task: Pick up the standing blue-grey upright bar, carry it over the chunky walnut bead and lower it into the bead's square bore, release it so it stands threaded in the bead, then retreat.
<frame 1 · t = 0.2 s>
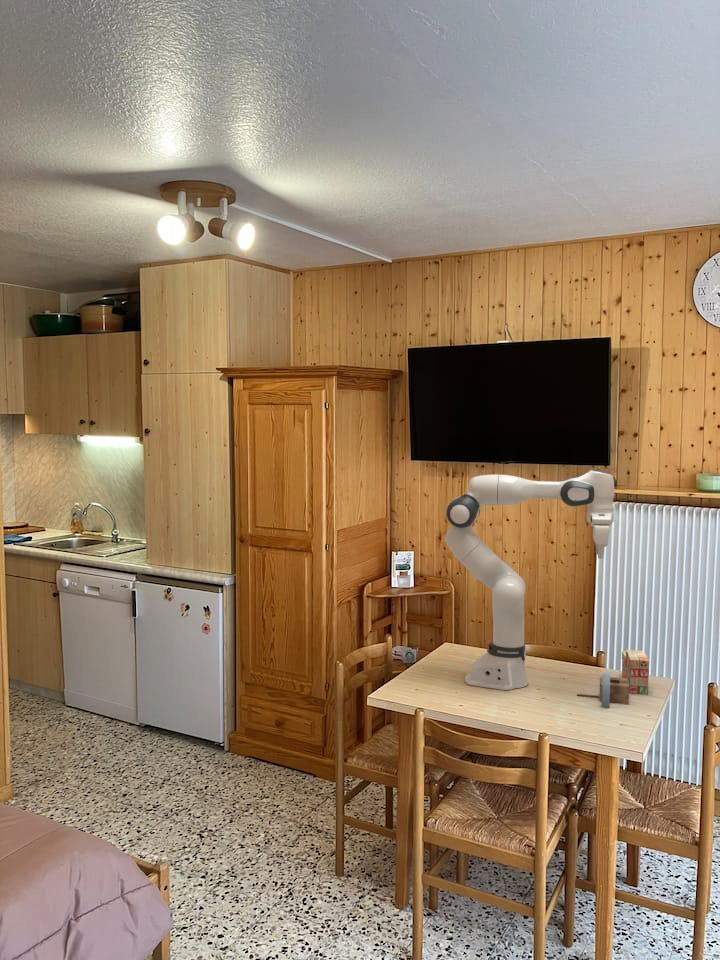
hand: (599, 556, 270), 47 cm above the table, fingers open, 8 cm apart
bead: (613, 698, 264), on the table
blue-grey upright bar: (605, 706, 256), on the table
lace: (587, 696, 267), on the table
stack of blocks: (634, 685, 280), on the table
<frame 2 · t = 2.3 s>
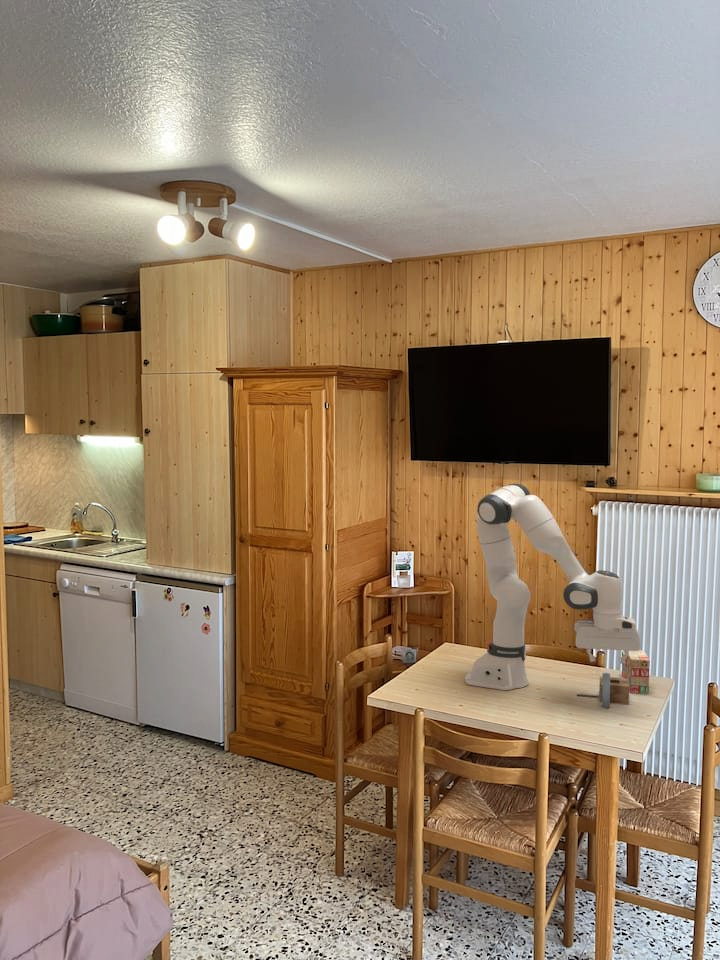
hand: (607, 662, 255), 15 cm above the table, fingers open, 8 cm apart
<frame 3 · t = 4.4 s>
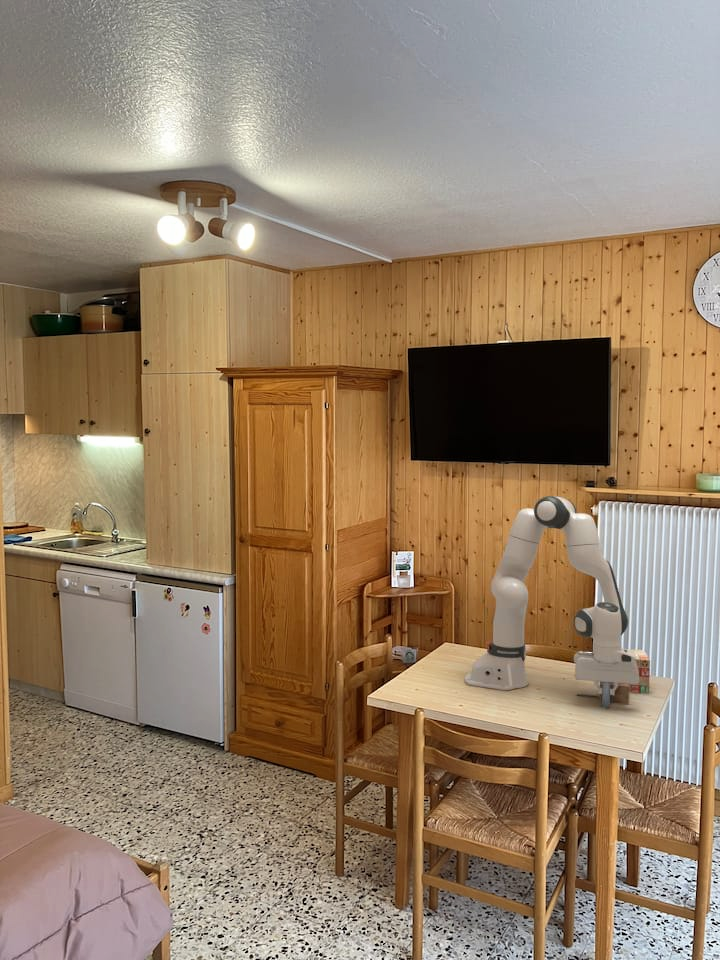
hand: (605, 694, 256), 4 cm above the table, fingers closed on blue-grey upright bar, 2 cm apart
blue-grey upright bar: (605, 706, 256), on the table, touching gripper
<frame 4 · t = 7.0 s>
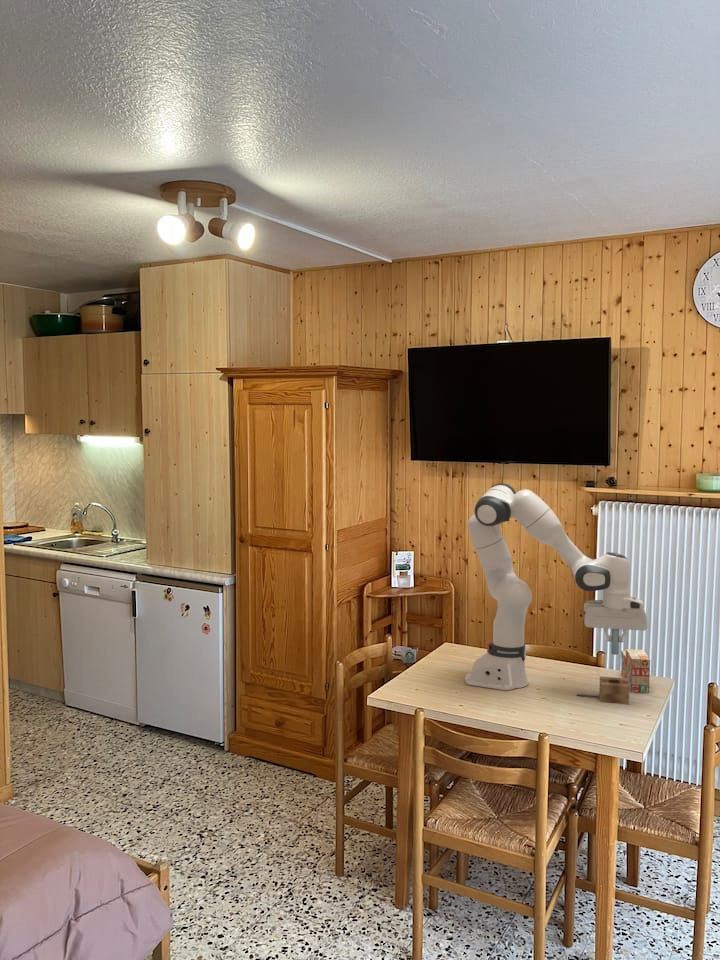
hand: (615, 641, 263), 20 cm above the table, fingers closed on blue-grey upright bar, 2 cm apart
blue-grey upright bar: (614, 653, 264), point 16 cm above the table, touching gripper
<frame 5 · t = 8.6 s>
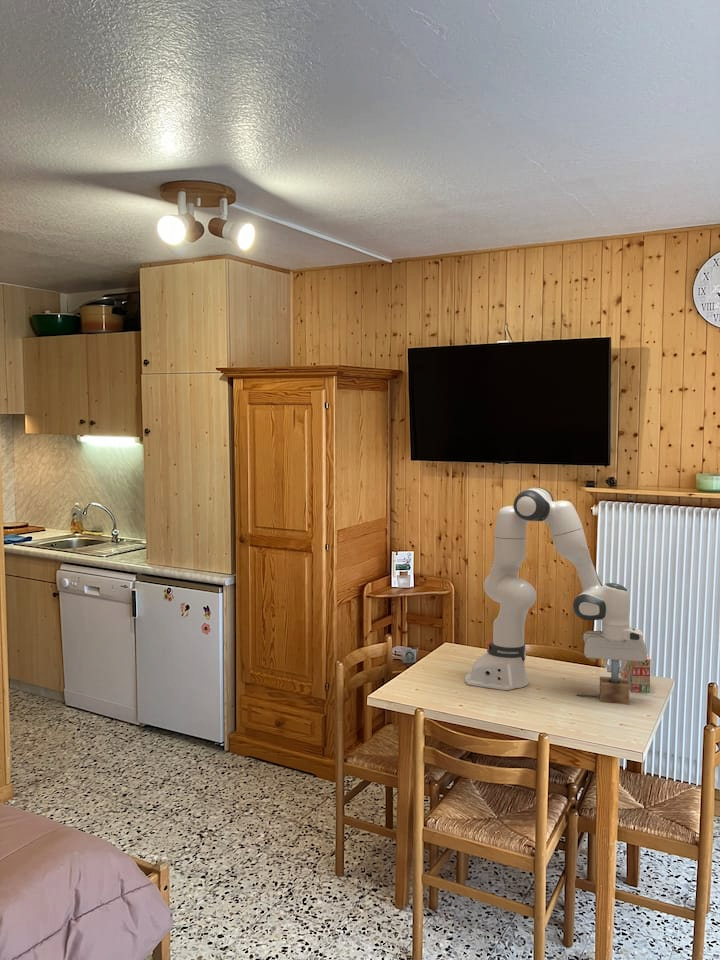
hand: (615, 672, 264), 9 cm above the table, fingers closed on blue-grey upright bar, 2 cm apart
blue-grey upright bar: (614, 684, 264), point 5 cm above the table, touching gripper
when the fingers open (7 cm above the table, at t = 9.7 s): blue-grey upright bar drops 3 cm, resting in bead.
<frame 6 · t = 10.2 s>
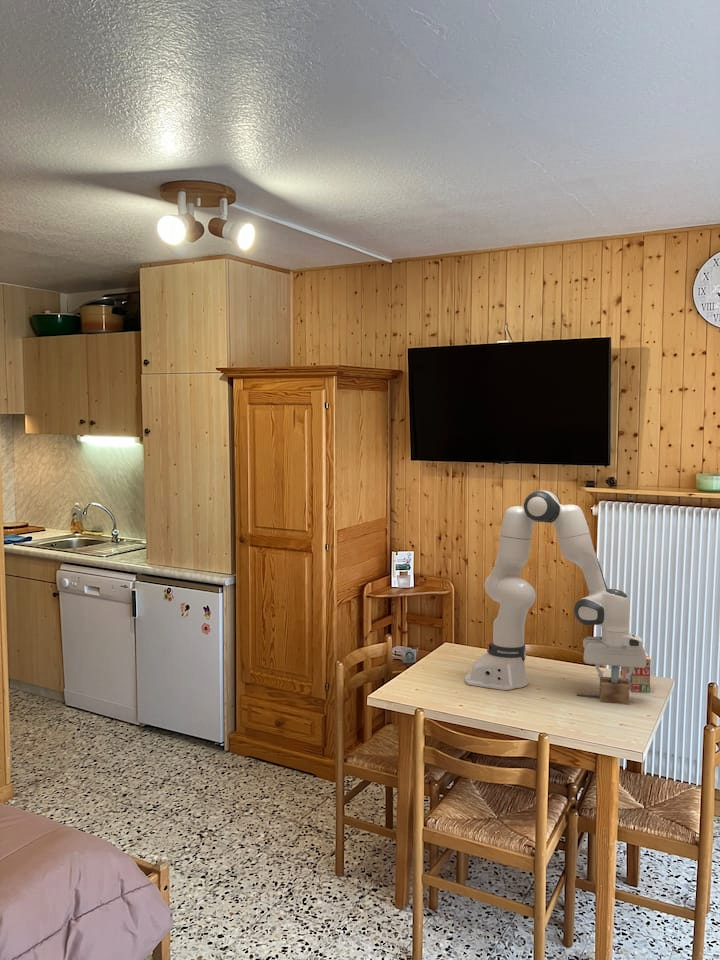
hand: (614, 678, 264), 7 cm above the table, fingers open, 7 cm apart
blue-grey upright bar: (613, 698, 265), resting in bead
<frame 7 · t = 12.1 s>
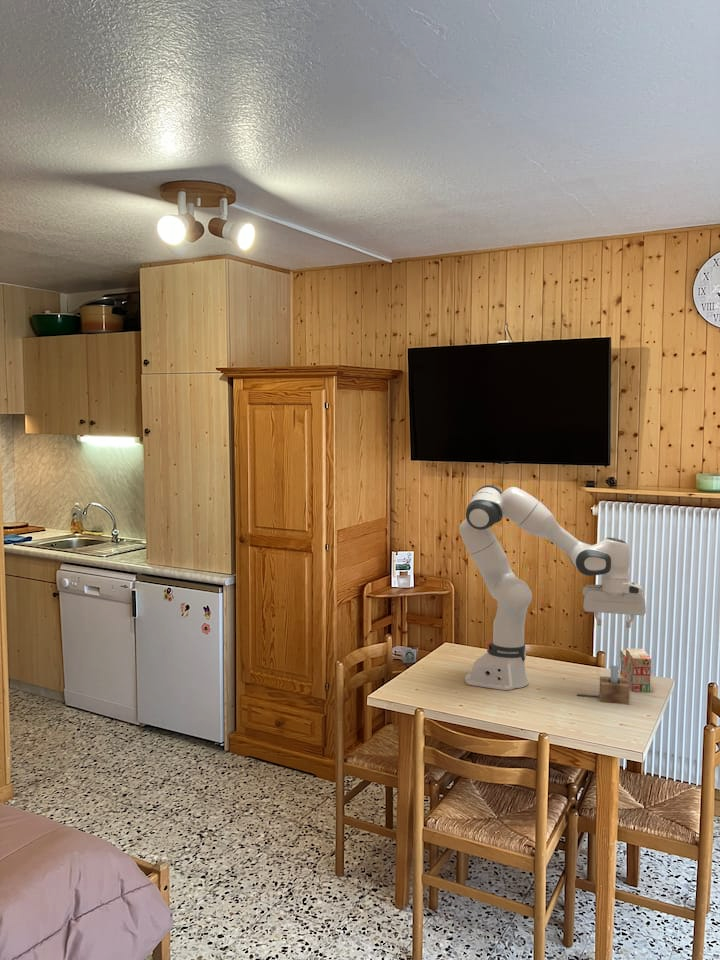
hand: (613, 626, 265), 24 cm above the table, fingers open, 8 cm apart
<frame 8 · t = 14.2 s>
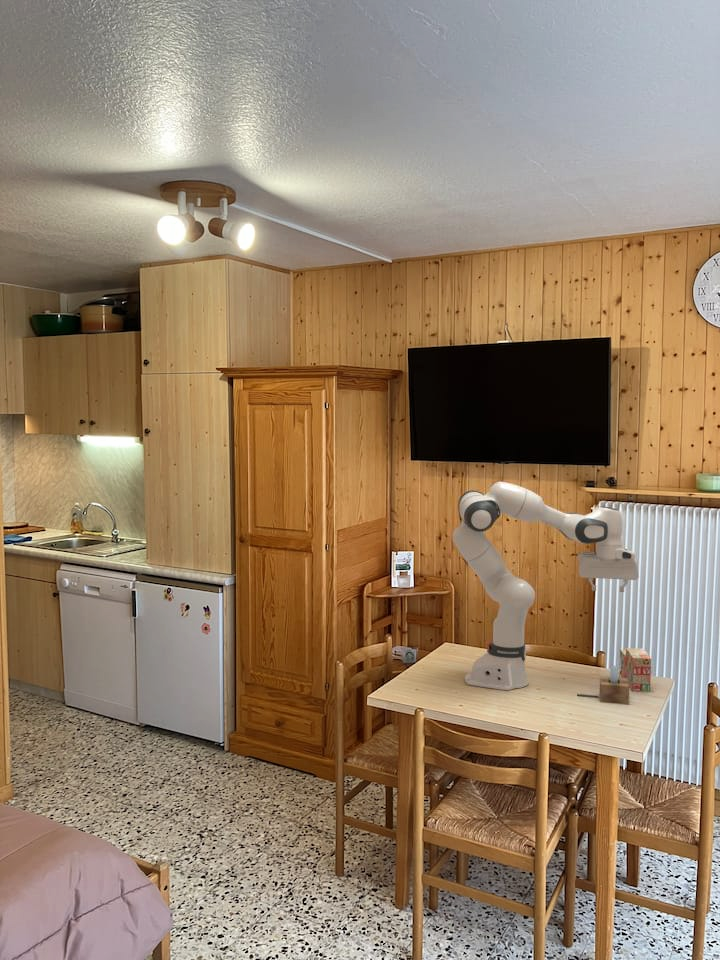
hand: (607, 591, 276), 34 cm above the table, fingers open, 8 cm apart
at the end: blue-grey upright bar 0.2 cm off-centre on the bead, point 0.0 cm above the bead's base; blue-grey upright bar tilted 0°; the gripper is holding nothing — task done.
